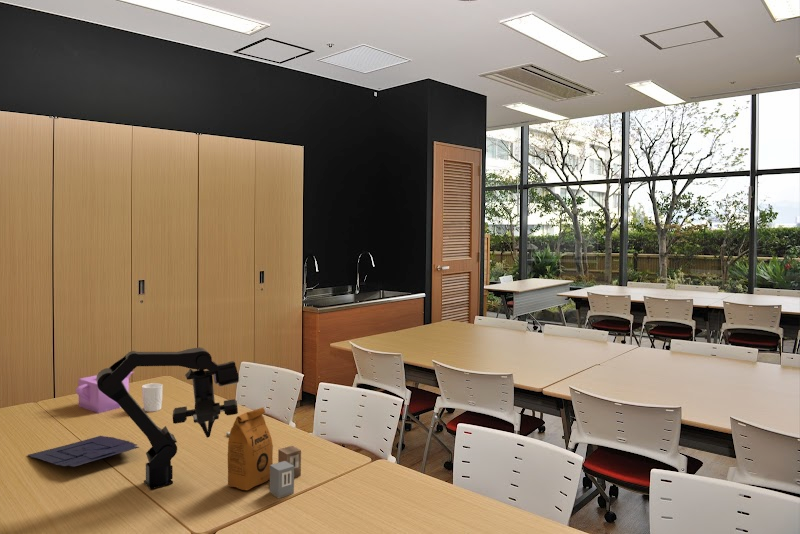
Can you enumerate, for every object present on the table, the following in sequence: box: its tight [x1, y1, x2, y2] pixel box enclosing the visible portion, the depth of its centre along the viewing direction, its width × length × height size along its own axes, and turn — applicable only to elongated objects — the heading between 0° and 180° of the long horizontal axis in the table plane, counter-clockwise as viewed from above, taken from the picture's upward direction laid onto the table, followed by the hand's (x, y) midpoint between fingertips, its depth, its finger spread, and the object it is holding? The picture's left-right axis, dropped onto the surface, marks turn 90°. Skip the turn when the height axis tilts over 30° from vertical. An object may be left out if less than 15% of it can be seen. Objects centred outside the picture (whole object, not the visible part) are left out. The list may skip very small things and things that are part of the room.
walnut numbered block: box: [277, 445, 302, 479], centre depth 180 cm, size 5×5×8 cm
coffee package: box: [227, 407, 274, 491], centre depth 173 cm, size 10×12×22 cm
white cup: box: [141, 382, 164, 413], centre depth 241 cm, size 8×8×10 cm
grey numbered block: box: [269, 461, 295, 499], centre depth 168 cm, size 5×5×8 cm
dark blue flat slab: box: [27, 435, 140, 468], centre depth 191 cm, size 24×30×4 cm
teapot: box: [75, 371, 135, 414], centre depth 245 cm, size 15×25×14 cm, turn 146°
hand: (208, 436), depth 181 cm, fingers closed
